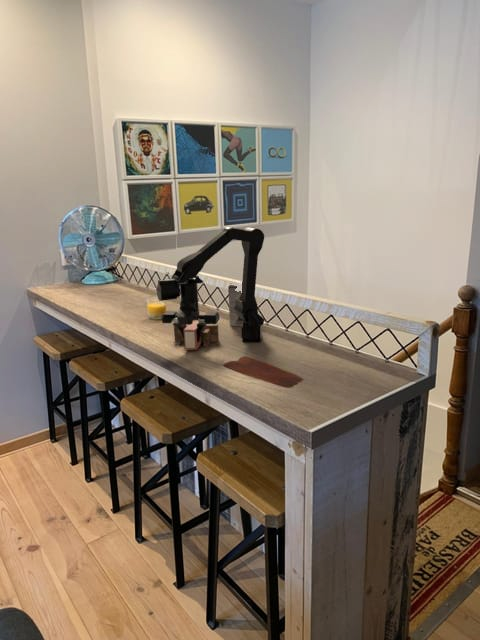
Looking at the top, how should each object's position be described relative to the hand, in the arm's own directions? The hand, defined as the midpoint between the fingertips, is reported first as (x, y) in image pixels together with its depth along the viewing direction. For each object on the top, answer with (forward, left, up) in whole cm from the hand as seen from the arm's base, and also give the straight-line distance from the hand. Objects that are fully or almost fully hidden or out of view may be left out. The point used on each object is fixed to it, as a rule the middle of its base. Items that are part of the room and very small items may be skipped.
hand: (192, 341), depth 167 cm
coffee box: (-11, -32, -3) cm, 34 cm away
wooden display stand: (+1, -7, -3) cm, 8 cm away
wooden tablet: (-26, +17, -4) cm, 32 cm away
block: (0, -2, -2) cm, 3 cm away
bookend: (+4, -7, -3) cm, 9 cm away
